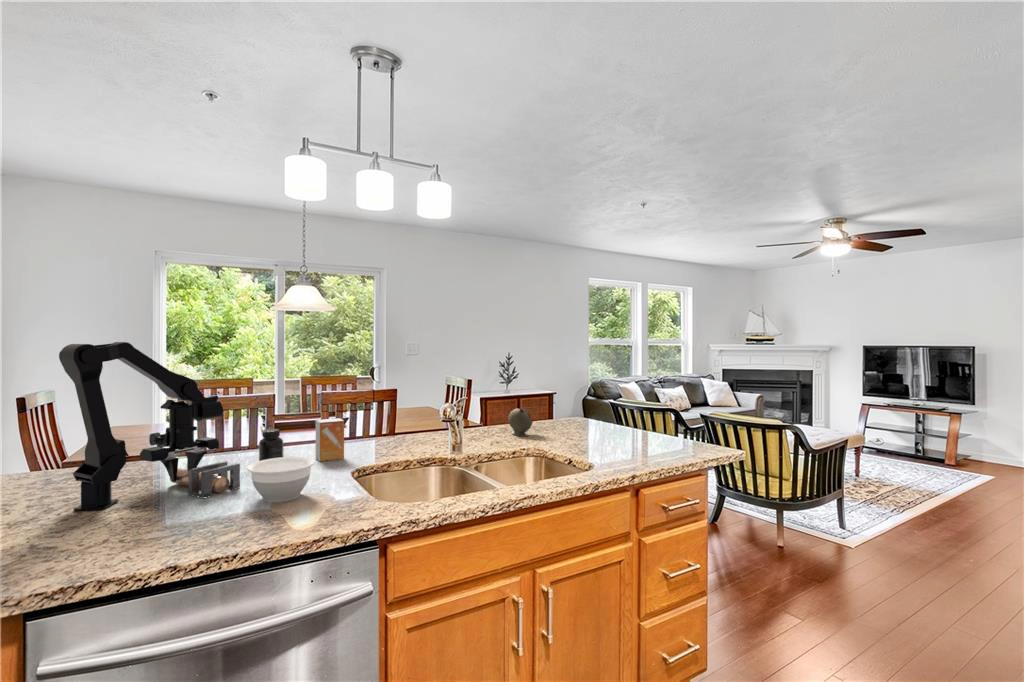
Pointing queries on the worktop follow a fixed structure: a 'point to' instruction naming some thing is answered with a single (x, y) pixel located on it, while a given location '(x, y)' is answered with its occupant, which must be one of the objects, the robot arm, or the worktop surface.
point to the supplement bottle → (270, 445)
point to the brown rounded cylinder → (218, 482)
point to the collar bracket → (207, 474)
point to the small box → (329, 439)
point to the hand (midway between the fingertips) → (181, 479)
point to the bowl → (280, 477)
